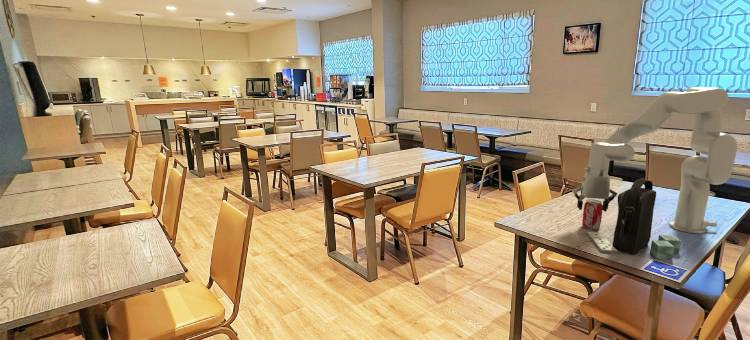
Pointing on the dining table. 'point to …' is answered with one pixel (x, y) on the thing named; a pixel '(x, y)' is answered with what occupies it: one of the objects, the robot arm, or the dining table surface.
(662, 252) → the sage green cube
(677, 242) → the pale green cube
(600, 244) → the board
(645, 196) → the shoulder bag
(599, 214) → the soda can
